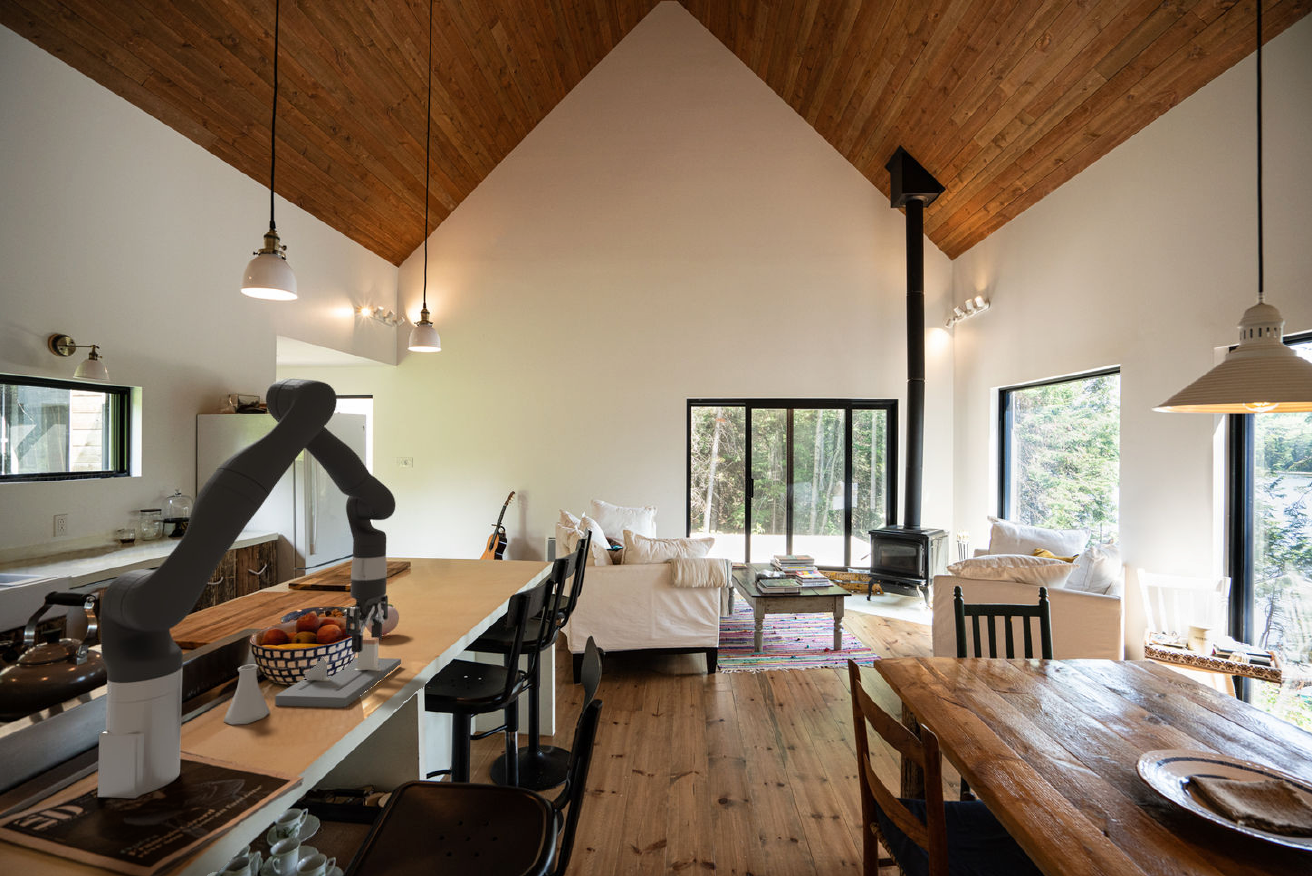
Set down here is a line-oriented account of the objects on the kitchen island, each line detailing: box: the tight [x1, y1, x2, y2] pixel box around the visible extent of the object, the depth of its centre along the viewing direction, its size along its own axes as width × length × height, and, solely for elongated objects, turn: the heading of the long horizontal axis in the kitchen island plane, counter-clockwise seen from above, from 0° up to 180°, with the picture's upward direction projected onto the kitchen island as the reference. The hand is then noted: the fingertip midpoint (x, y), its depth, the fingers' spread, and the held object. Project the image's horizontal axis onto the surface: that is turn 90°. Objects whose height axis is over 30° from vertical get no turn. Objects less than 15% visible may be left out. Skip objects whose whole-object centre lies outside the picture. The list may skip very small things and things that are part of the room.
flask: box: [223, 663, 271, 725], centre depth 121 cm, size 7×7×10 cm
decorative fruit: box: [365, 603, 400, 636], centre depth 174 cm, size 9×8×10 cm
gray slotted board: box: [274, 657, 402, 708], centre depth 139 cm, size 24×15×2 cm, turn 176°
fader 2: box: [356, 636, 380, 670], centre depth 142 cm, size 2×4×7 cm, turn 86°
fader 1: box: [304, 656, 328, 680], centre depth 136 cm, size 2×4×7 cm, turn 87°
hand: (367, 646), depth 142 cm, fingers open, 8 cm apart
